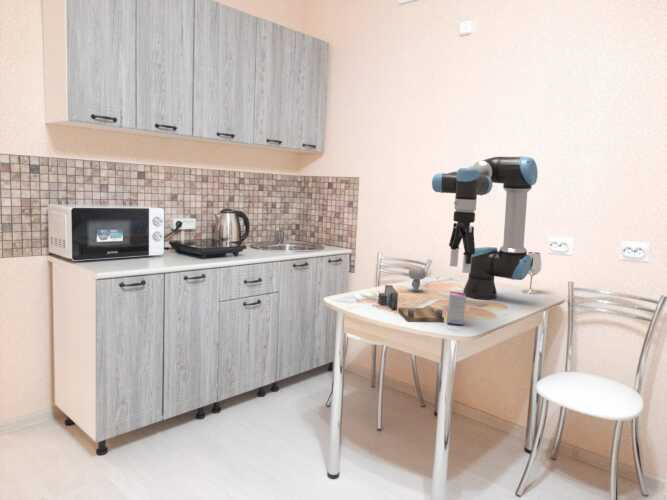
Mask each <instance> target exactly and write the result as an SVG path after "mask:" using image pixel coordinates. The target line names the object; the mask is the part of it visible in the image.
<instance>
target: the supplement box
mask: <svg viewBox="0 0 667 500" xmlns="http://www.w3.org/2000/svg"><path fill="white" fill-rule="evenodd" d="M466 300H467V296H466V294H465V293H463V292H461V291H460V292H459V291H450V292H449V297H448V308H447V316H446V324H447V325H452V326H461V327H462V326H464V319H465V318H464V317H465V311H466Z"/></svg>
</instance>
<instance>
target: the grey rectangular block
mask: <svg viewBox="0 0 667 500" xmlns="http://www.w3.org/2000/svg"><path fill="white" fill-rule="evenodd" d="M393 292H397V291H396V289H395V287H393V285H392V284H389V285H388V284H387V285H385V286H384V293H385V294H386V295H387V305H388V307H389V308H392V294H393Z"/></svg>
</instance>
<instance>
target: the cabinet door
mask: <svg viewBox="0 0 667 500" xmlns="http://www.w3.org/2000/svg"><path fill="white" fill-rule="evenodd" d="M398 298H399V293H398V292H397V291H396V292H393V294H392V307H390V308H391V309H392V311H397V310H398V311H399V312H400V313H401V314H400V313H399V312H398V313H399V314H400V315H401V316H402V317H403V318H404V319H405V320H406V322H410V323H411V322H412V323H413V322H414V323H415V322H416V323H417V322H418V323H444V322H445V317H443V313H444V310H442V309H436V310H435V309H434V308H432V307H431V308H430V307H429V308H428V307H425V308H423V307H398ZM391 309H390V310H391Z"/></svg>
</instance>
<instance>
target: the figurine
mask: <svg viewBox="0 0 667 500" xmlns="http://www.w3.org/2000/svg"><path fill="white" fill-rule="evenodd" d="M408 276H409V278H410V279H412V282H411V287H412V288H413V291H414V293H415V292H418V290H419V288H420V286H421V280H423V279H424V278H425V276H426V269H425V267H422V266H418V265H415V266H414V265H413V266H411V267H410V268H409V270H408Z"/></svg>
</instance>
